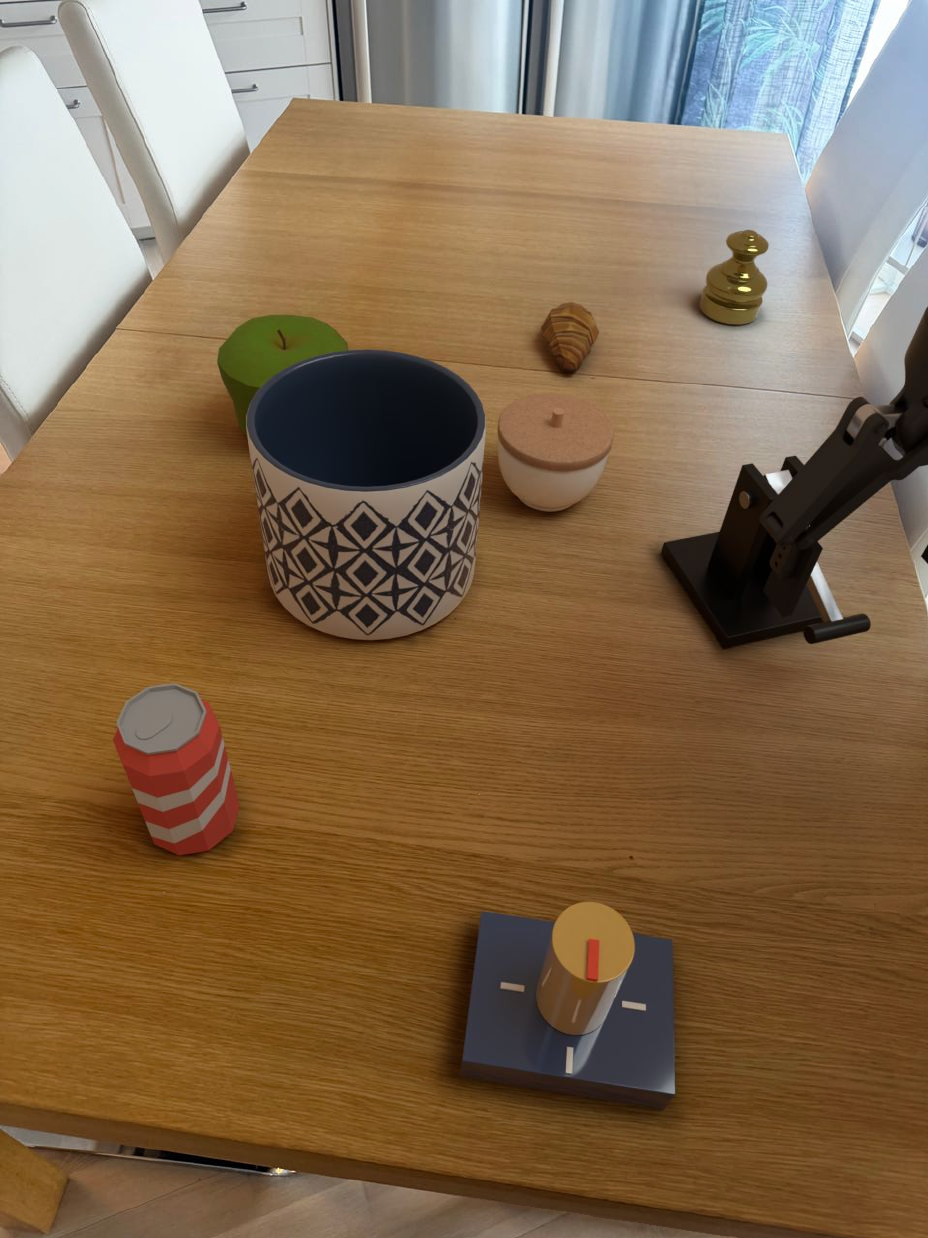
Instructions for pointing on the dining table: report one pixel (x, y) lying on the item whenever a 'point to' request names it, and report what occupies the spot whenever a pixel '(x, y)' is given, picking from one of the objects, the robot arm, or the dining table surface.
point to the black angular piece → (738, 568)
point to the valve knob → (584, 967)
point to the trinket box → (553, 449)
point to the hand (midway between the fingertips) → (858, 585)
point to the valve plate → (555, 1061)
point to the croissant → (570, 335)
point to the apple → (270, 353)
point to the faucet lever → (822, 593)
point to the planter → (368, 490)
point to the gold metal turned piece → (736, 281)
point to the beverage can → (177, 768)
